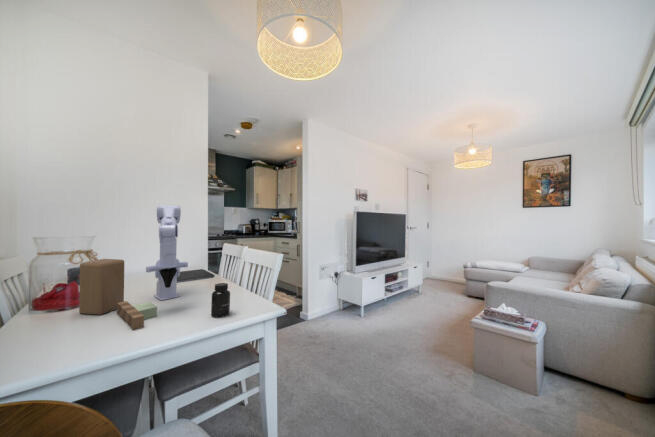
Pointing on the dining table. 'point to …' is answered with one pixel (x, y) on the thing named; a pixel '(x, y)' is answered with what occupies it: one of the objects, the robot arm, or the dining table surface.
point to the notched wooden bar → (130, 315)
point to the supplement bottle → (220, 300)
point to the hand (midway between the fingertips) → (167, 287)
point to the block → (101, 286)
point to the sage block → (147, 310)
